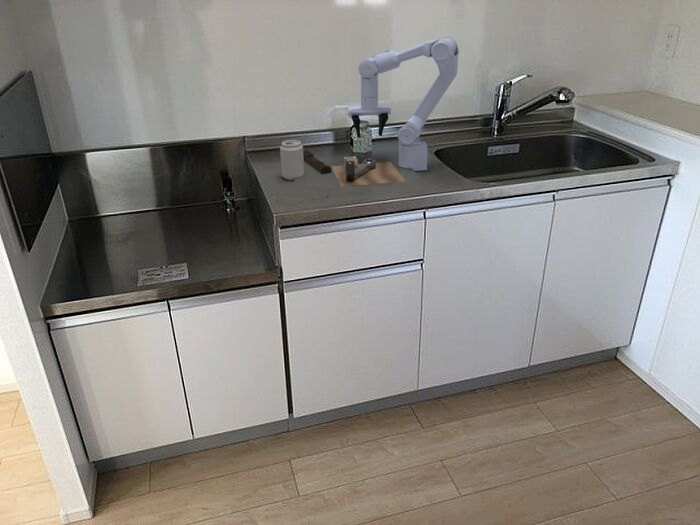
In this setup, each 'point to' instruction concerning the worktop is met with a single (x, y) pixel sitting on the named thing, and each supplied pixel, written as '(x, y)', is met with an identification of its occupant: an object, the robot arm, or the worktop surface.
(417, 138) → the robot arm
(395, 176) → the board
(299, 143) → the can
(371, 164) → the lever
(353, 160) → the beige cylinder plug
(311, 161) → the hand tool
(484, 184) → the worktop surface
